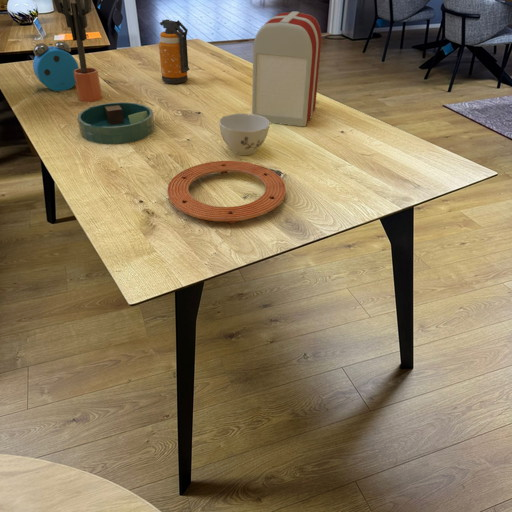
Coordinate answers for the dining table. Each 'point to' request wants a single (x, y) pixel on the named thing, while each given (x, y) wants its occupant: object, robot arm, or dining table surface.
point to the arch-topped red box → (286, 68)
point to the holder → (88, 85)
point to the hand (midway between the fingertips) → (80, 39)
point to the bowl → (102, 132)
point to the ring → (192, 207)
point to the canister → (173, 52)
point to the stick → (79, 39)
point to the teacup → (244, 132)
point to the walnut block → (114, 114)
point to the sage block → (137, 117)
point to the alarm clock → (55, 66)
